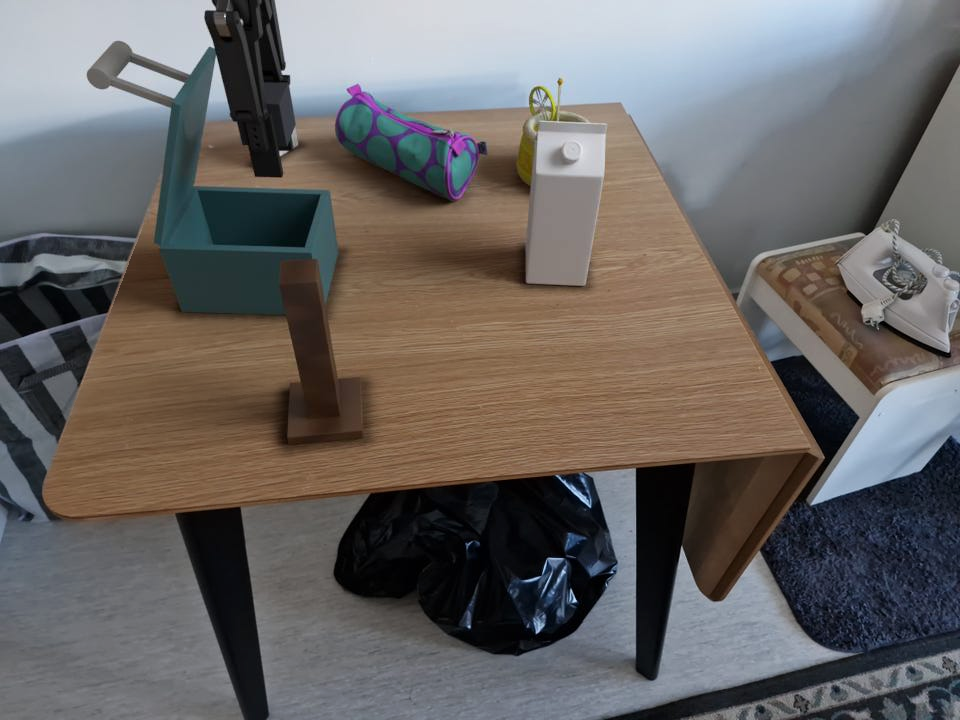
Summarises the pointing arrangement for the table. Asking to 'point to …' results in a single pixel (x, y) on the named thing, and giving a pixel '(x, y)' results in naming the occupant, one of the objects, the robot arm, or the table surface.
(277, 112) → the block
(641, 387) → the table surface
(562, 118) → the yellow pot
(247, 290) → the chest
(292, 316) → the post stand
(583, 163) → the milk carton
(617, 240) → the table surface
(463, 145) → the pencil case
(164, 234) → the lid
